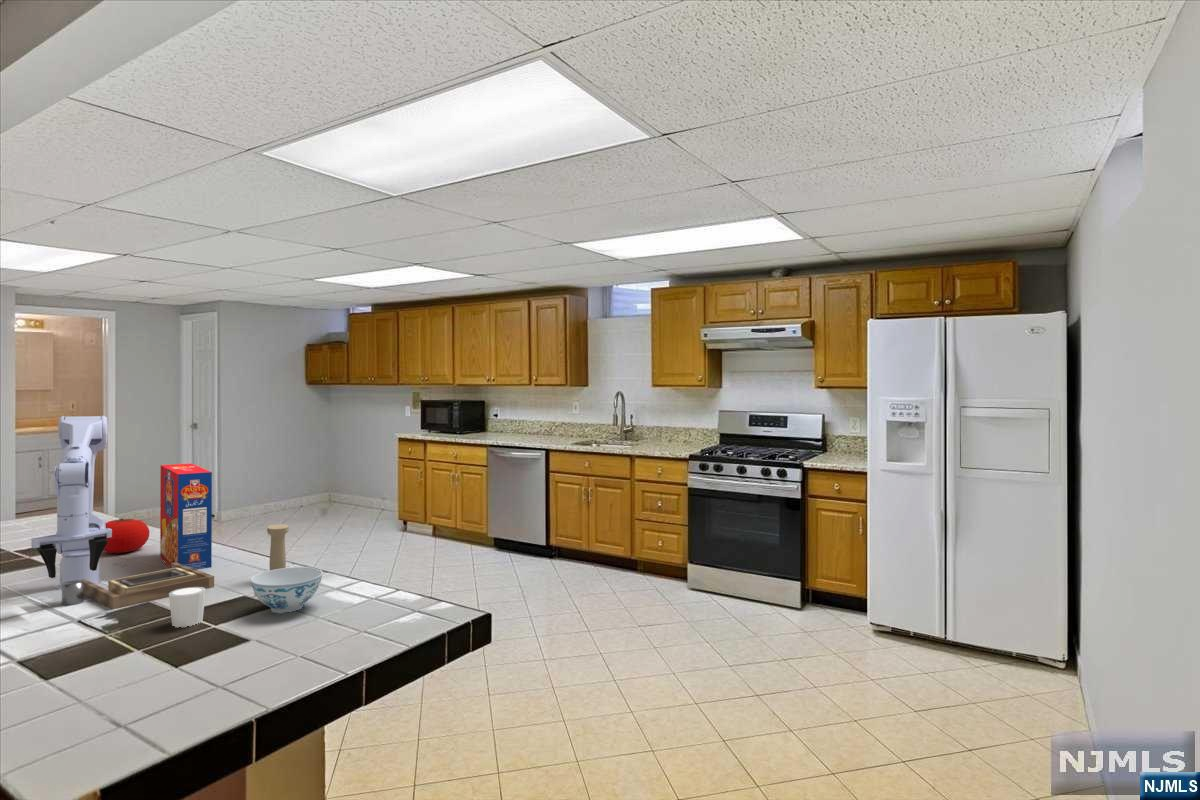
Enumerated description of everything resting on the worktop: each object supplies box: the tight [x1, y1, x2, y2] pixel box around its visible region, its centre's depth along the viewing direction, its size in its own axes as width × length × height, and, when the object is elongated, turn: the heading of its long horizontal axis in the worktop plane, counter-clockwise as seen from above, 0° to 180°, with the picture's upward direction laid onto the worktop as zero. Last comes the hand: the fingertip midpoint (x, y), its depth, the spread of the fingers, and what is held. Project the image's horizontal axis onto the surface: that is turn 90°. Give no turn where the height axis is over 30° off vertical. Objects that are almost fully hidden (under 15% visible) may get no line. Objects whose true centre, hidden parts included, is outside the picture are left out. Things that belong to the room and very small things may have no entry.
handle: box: [266, 523, 289, 571], centre depth 173 cm, size 5×6×15 cm
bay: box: [83, 562, 215, 610], centre depth 163 cm, size 22×21×4 cm
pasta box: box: [159, 463, 213, 570], centre depth 191 cm, size 28×8×28 cm, turn 42°
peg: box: [61, 580, 85, 607], centre depth 152 cm, size 4×4×6 cm
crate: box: [107, 567, 197, 595], centre depth 161 cm, size 11×15×4 cm
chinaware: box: [250, 566, 323, 614], centre depth 153 cm, size 15×15×8 cm
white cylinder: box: [168, 587, 207, 628], centre depth 143 cm, size 7×7×7 cm
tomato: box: [103, 518, 150, 554], centre depth 205 cm, size 14×13×10 cm
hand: (73, 573), depth 152 cm, fingers open, 7 cm apart
